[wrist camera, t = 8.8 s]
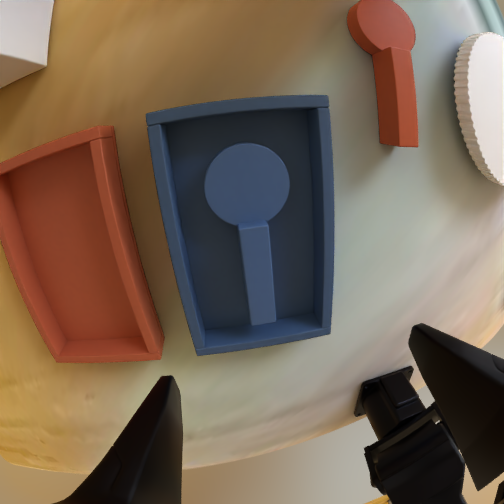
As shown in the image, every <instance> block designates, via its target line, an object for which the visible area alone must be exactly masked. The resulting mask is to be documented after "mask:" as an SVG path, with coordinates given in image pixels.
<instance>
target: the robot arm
mask: <svg viewBox="0 0 504 504" xmlns="http://www.w3.org/2000/svg"><path fill="white" fill-rule="evenodd" d="M408 344H409V348H410V350H411V352H412V354H413V357H414V359H415V361H416V364H417V366H418V368H419V371H420V373H421V375H422V377H423V379H424V381H425V383H426V385H427V386H428V388H429V390H430V392H431V394H432V396H433V397H434V399H435V402H433V403H432V404H431V406H429V407H428V408H427V409H426V408H425V406H424V405H423V403H422V402H421V400H420V399H419V395H418V394H417V392H416V391H415V389H414V388H413V386H412V385H411V383H410V382H409V381H410V378H411V376H412V373H413V370H414V369H413V367H412V366H409V367H406V368H403V369H400V370H398V371H395V372H392V373H389V374H386V375H383V376H380V377H377V378H374V379H371V380H368V381H365V382H363V383H362V385H361V389H360V393H359V397H358V400H357V404H356V407H355V411H354V415H355V417H358V416H362V415H365V414H366V415H367V417H368V419H369V421H370V424H371V426H372V428H373V430H374V432H375V434H376V436H377V438H378V440H379V441H377V442H375V443H374V444H372V445H370V446H367V447H365V448H364V450H365V454H364V455H365V458H366V461H367V464H368V468H369V471H370V479H371V485H372V487H375V488H378V490H379V491H380V492H381V493H382V494H383V495H388V497H389V499H390V501H391V503H392V504H467V502H466V500H465V499H464V497H463V495H462V488H463V480H464V472H465V463H466V465H467V468H468V470H469V472H470V475H471V477H472V479H473V482H474V484H475V487H476V489H477V491H479V490H481V489H482V488H483V487H485V486H486V485H488V484H489V483H490V482H492V481H493V480H494V479H495V478H497V477H498V476H499V475H500V474H502V473H503V472H504V359H502V358H499V357H497V356H495V355H493V354H492V355H491V354H490V353H488V352H486V351H484V350H482V349H479V348H477V347H475V346H473V345H470V344H468V343H466V342H464V341H461V340H459V339H457V338H455V337H452V336H450V335H448V334H446V333H443V332H441V331H439V330H437V329H434V328H432V327H430V326H428V325H425V324H423V323H420V324H417V325H414V326H413V327H412V330H411V334H410V338H409V342H408ZM438 420H440V422H439V423H437V424H435V423H436V422H437V421H438ZM182 447H183V424H182V411H181V395H180V390H179V388H178V386H177V383H176V381H175V379H174V377H173V376H171V375H170V376H162V377H160V379H159V380H158V381H157V383H156V384H155V386H154V387H153V388H152V390H151V391H150V393H149V394H148V396H147V397H146V398H145V400H144V401H143V403H142V404H141V406H140V407H139V408H138V410H137V411H136V413H135V414H134V416H133V417H132V418H131V420H130V421H129V423H128V424H127V426H126V427H125V428H124V430H123V431H122V433H121V434H120V436H119V437H118V438H117V440H116V441H115V443H114V444H113V446H112V447H111V448H110V450H109V451H108V453H107V454H106V455H105V457H104V458H103V459H102V461H101V462H100V463H99V464H98V466H97V467H96V468H95V469H94V470H93V472H92V473H91V474H90V475H89V476H88V477H87V478H86V479H85V481H83V483H82V484H81V485H80V486H79V487H78V488H77V489H76V490H75V491H74V492H73V493H72V494H71V495H70V496H69V497H67V498H66V499H64V500H62V501H60V502H57V503H53V504H181V481H182V480H181V478H182ZM459 450H460V452H461V453H462V456H463V457H462V456H461V454H460V452H459ZM494 504H504V481H502V482H501V483H500V484H499V486H498V490H497V494H496V498H495V501H494Z"/></svg>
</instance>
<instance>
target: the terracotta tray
mask: <svg viewBox="0 0 504 504" xmlns="http://www.w3.org/2000/svg"><path fill="white" fill-rule="evenodd" d="M0 239H1V243H2V246H3V249H4V252H5V255H6V257H7V260H8V263H9V266H10V268H11V271H12V274H13V276H14V279H15V281H16V284H17V286H18V288H19V291H20V293H21V295H22V298H23V300H24V302H25V304H26V306H27V308H28V311H29V313H30V315H31V317H32V319H33V321H34V323H35V325H36V327H37V329H38V330H39V332H40V334H41V336H42V338H43V340H44V342H45V343H46V345H47V347H48V349H49V350H50V352H51V354H52V356H53V357H54V359H55V361H56V362H60V363H100V362H129V361H147V360H160V359H161V356H162V350H163V344H164V339H165V337H164V334H163V331H162V328H161V325H160V322H159V319H158V316H157V313H156V310H155V307H154V304H153V301H152V298H151V294H150V291H149V288H148V284H147V281H146V278H145V274H144V271H143V267H142V263H141V260H140V256H139V252H138V248H137V245H136V241H135V237H134V232H133V228H132V224H131V220H130V215H129V211H128V206H127V202H126V197H125V192H124V187H123V182H122V176H121V171H120V165H119V159H118V153H117V147H116V140H115V133H114V126H96V127H92V128H89V129H86V130H83V131H80V132H77V133H74V134H71V135H68V136H65V137H62V138H59V139H57V140H54V141H51V142H48V143H46V144H43V145H41V146H38V147H36V148H33V149H31V150H29V151H26V152H24V153H21V154H19V155H17V156H15V157H13V158H10V159H8V160H6V161H4V162H2V163H0Z"/></svg>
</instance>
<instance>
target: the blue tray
mask: <svg viewBox="0 0 504 504" xmlns="http://www.w3.org/2000/svg"><path fill="white" fill-rule="evenodd" d="M328 107H329V99H328V96H327V95H288V96H267V97H253V98H241V99H231V100H222V101H214V102H207V103H200V104H193V105H187V106H181V107H176V108H170V109H165V110H160V111H155V112H150V113H147V114H146V122H147V126H148V127H147V130H148V137H149V144H150V151H151V158H152V164H153V170H154V176H155V182H156V188H157V193H158V199H159V204H160V209H161V214H162V219H163V224H164V229H165V234H166V238H167V243H168V247H169V252H170V256H171V260H172V265H173V269H174V273H175V277H176V281H177V285H178V289H179V293H180V297H181V301H182V305H183V308H184V312H185V316H186V319H187V323H188V326H189V330H190V333H191V337H192V340H193V344H194V347H195V350H196V354H197V356H202V355H210V354H218V353H226V352H233V351H240V350H247V349H254V348H260V347H266V346H272V345H278V344H283V343H289V342H294V341H299V340H304V339H309V338H314V337H319V336H323V335H328V334H330V331H331V317H332V299H333V277H334V176H333V153H332V136H331V122H330V110H329V108H328ZM243 142H248V143H254V144H258V145H261V146H264V147H266V148H268V149H270V150H272V151H273V152H274V153H276V154H277V155H278V156H279V157H280V159H281V160H282V161H283V163H284V164H285V166H286V169H287V171H288V174H289V180H290V188H289V194H288V198H287V200H286V202H285V204H284V206H283V208H282V209H281V210H280V212H279V213H278V214H277V215H276V216H274V217H273V218H272V219H270V220H269V221H267V224H268V226H269V236H270V248H271V260H272V272H273V285H274V298H275V311H276V322H272V323H266V324H260V325H253V326H252V325H251V322H250V317H249V312H248V307H247V301H246V294H245V286H244V279H243V272H242V264H241V256H240V249H239V241H238V233H237V226H235V225H232V224H229V223H227V222H225V221H223V220H222V219H220V218H219V217H218V216H217V215H216V214H215V213H214V212H213V211H212V209H211V208H210V206H209V204H208V202H207V200H206V196H205V192H204V180H205V175H206V171H207V168H208V166H209V164H210V162H211V160H212V159H213V158H214V156H215V155H216V154H217V153H218V152H220V151H221V150H222V149H224V148H225V147H228V146H230V145H232V144H236V143H243Z"/></svg>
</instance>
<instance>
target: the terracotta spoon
mask: <svg viewBox="0 0 504 504" xmlns="http://www.w3.org/2000/svg"><path fill="white" fill-rule="evenodd" d="M347 24H348V28H349V31H350V33H351V35H352V37H353V39H354V40H355V41H356V43H357V44H358V45H359V46H360V47H361V48H362V49H363V50H365V51H366V52H368V53H369V54H371V55H372V59H373V66H374V74H375V83H376V92H377V104H378V117H379V135H380V143H381V144H387V145H393V146H399V147H418V119H417V104H416V92H415V82H414V74H413V66H412V59H411V53H410V51H411V49H412V48H413V46H414V44H415V30H414V26H413V24H412V22H411V20H410V18H409V16H408V15H407V14H406V12H405V11H404V10H403V9H402V8H401V7H400V6H399V5H397V4H396V3H395V2H393V1H391V0H360V1H359V2H358V3H356V4H355V5H354V6H352V7H351V9H350V10H349V12H348V16H347Z"/></svg>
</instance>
